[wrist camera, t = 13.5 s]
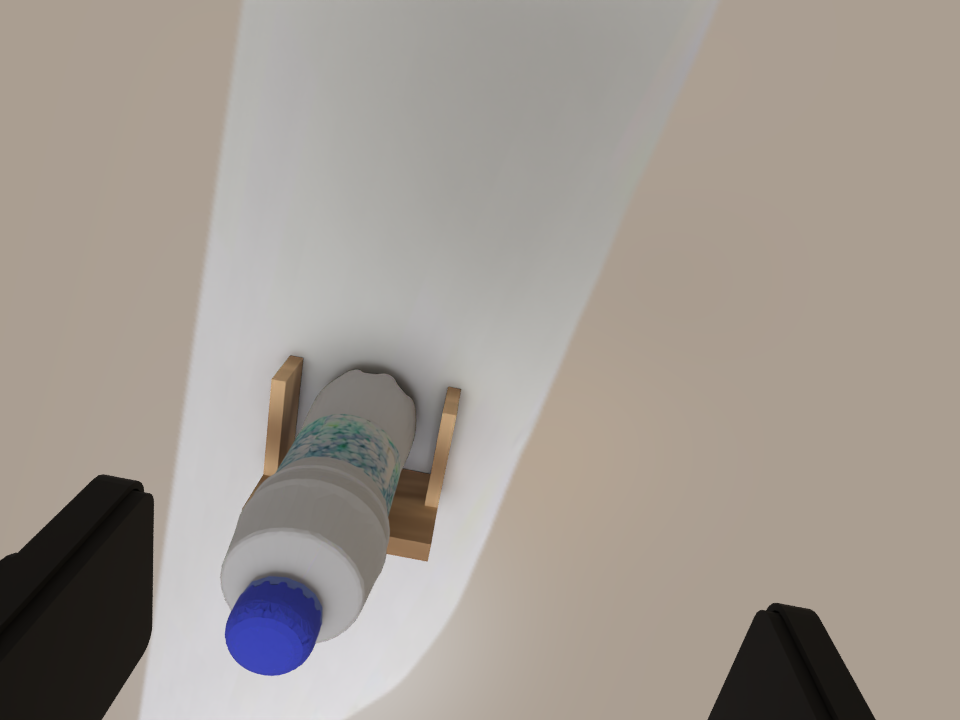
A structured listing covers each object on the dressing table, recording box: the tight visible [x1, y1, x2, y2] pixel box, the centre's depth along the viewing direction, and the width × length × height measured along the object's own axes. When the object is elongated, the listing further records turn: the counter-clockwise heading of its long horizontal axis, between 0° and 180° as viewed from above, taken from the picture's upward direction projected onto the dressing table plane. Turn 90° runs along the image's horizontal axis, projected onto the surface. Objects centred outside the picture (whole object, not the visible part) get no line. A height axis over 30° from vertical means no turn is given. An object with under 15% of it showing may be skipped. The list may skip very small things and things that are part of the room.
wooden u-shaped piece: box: [242, 356, 461, 561], centre depth 41 cm, size 8×11×7 cm
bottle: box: [220, 369, 416, 676], centre depth 34 cm, size 7×7×20 cm
